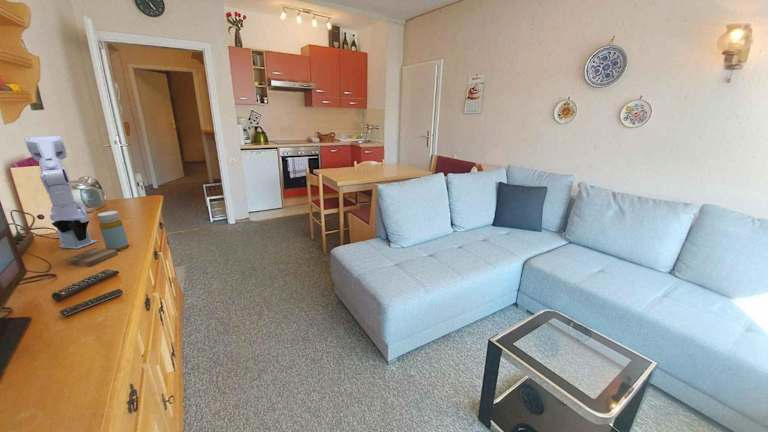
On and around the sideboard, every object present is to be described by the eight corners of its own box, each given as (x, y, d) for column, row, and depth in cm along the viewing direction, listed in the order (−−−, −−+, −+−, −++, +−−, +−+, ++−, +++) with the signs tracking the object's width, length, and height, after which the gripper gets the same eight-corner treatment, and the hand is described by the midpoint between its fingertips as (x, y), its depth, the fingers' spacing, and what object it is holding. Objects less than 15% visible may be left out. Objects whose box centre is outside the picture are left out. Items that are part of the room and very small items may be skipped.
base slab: (68, 264, 114) (66, 259, 113) (97, 252, 123) (95, 248, 123) (90, 266, 112) (88, 261, 112) (118, 254, 122) (116, 249, 121)
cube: (65, 246, 113) (60, 233, 112) (80, 240, 118) (75, 228, 116) (75, 247, 112) (71, 234, 111) (90, 241, 117) (86, 229, 115)
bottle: (116, 252, 123) (105, 216, 118) (102, 251, 125) (91, 215, 120) (133, 245, 130) (123, 211, 125) (119, 244, 131) (109, 210, 126)
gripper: (34, 205, 108) (48, 242, 112) (67, 208, 105) (80, 245, 109) (58, 200, 114) (70, 234, 119) (89, 202, 111) (101, 237, 116)
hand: (76, 239), depth 114 cm, fingers closed on cube, 5 cm apart
